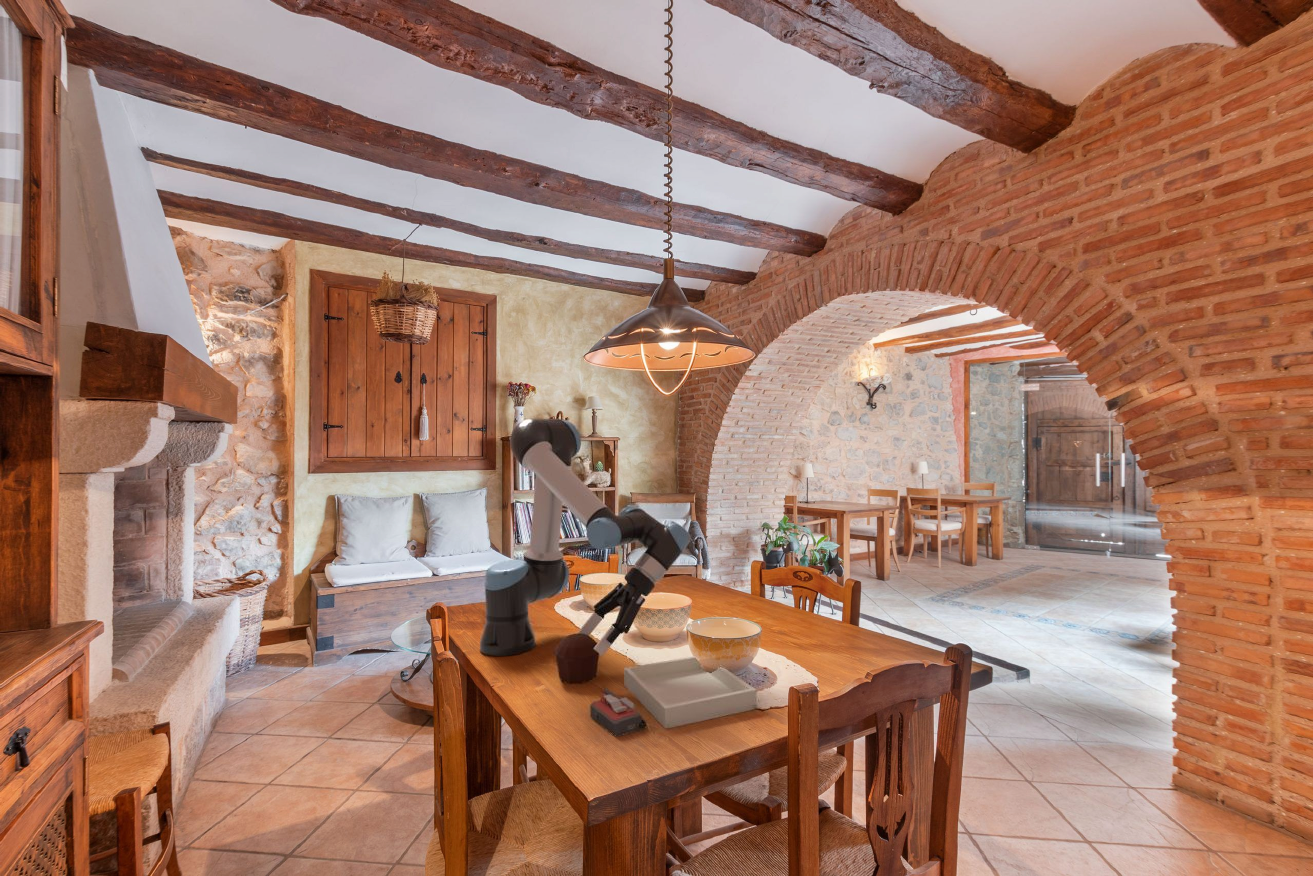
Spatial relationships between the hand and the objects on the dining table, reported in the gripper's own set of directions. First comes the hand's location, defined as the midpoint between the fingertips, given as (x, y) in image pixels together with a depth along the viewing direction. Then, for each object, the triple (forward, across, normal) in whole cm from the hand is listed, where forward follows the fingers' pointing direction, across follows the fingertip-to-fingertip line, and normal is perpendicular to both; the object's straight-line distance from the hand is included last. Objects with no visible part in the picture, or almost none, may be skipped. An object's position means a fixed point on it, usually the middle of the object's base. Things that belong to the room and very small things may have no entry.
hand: (589, 644), depth 148 cm
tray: (-6, -21, -17) cm, 28 cm away
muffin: (+8, +1, -4) cm, 9 cm away
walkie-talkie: (+7, -22, -5) cm, 24 cm away
